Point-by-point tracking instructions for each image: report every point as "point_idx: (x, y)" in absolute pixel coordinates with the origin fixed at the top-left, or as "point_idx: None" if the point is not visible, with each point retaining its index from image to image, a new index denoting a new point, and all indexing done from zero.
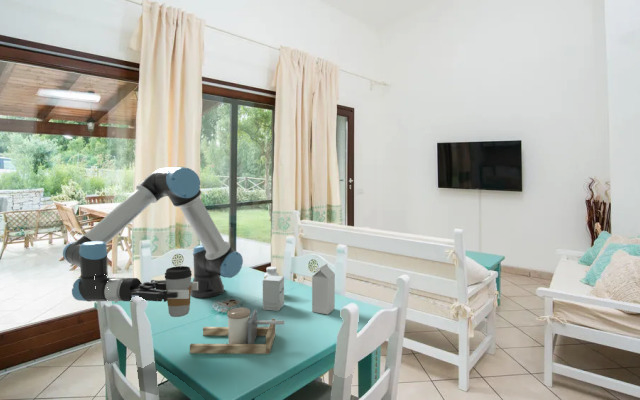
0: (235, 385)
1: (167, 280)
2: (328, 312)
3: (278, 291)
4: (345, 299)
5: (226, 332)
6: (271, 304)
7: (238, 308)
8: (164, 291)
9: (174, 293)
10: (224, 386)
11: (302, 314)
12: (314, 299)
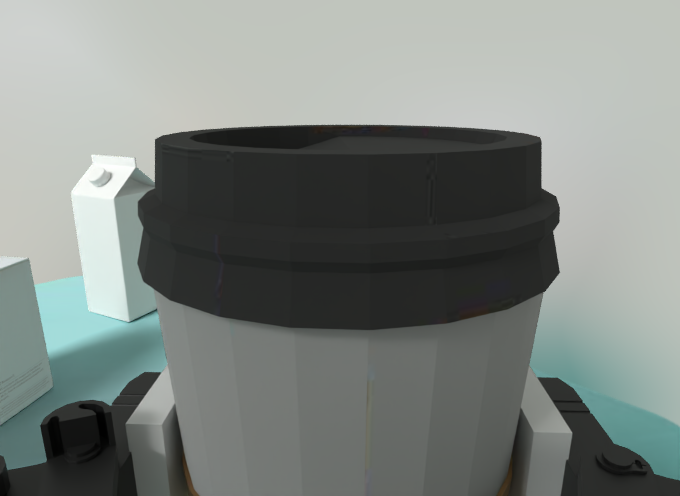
0: (647, 439)
1: (531, 313)
2: None
3: (36, 306)
4: (74, 278)
5: None
6: (22, 381)
7: None
8: (632, 459)
9: (570, 389)
10: (675, 464)
11: (135, 339)
12: (131, 277)
